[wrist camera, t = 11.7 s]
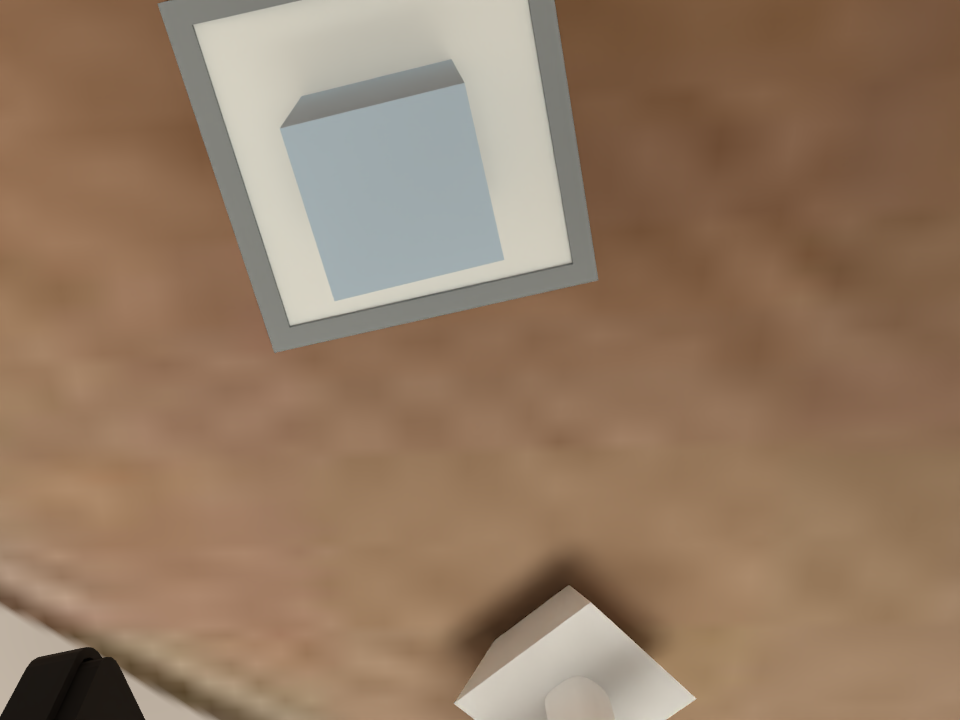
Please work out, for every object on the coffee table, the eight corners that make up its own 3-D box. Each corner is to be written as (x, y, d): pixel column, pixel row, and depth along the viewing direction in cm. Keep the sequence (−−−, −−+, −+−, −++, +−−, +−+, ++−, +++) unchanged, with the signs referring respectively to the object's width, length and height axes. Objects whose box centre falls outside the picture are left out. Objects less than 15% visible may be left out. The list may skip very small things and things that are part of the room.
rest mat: (536, -82, 28) (541, -84, 27) (592, 271, 33) (598, 280, 32) (164, 2, 28) (157, 3, 27) (277, 341, 33) (274, 352, 32)
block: (451, 59, 29) (464, 82, 23) (485, 206, 31) (504, 259, 25) (301, 96, 29) (279, 128, 23) (345, 240, 31) (334, 301, 26)
